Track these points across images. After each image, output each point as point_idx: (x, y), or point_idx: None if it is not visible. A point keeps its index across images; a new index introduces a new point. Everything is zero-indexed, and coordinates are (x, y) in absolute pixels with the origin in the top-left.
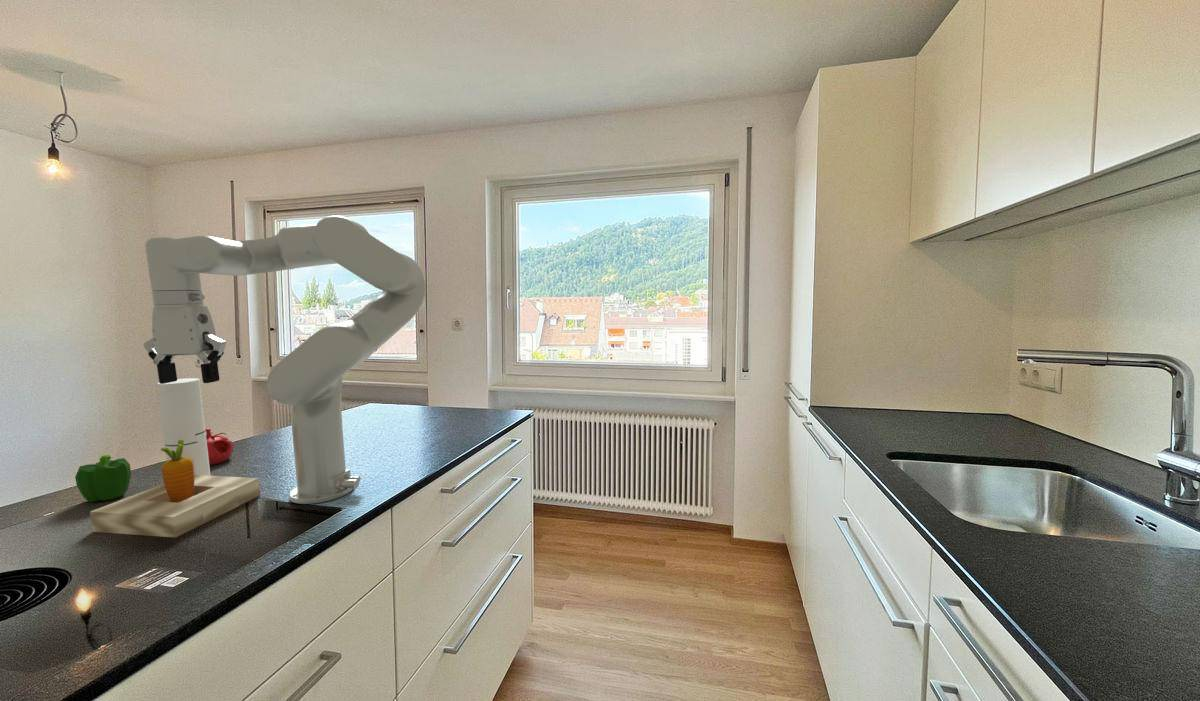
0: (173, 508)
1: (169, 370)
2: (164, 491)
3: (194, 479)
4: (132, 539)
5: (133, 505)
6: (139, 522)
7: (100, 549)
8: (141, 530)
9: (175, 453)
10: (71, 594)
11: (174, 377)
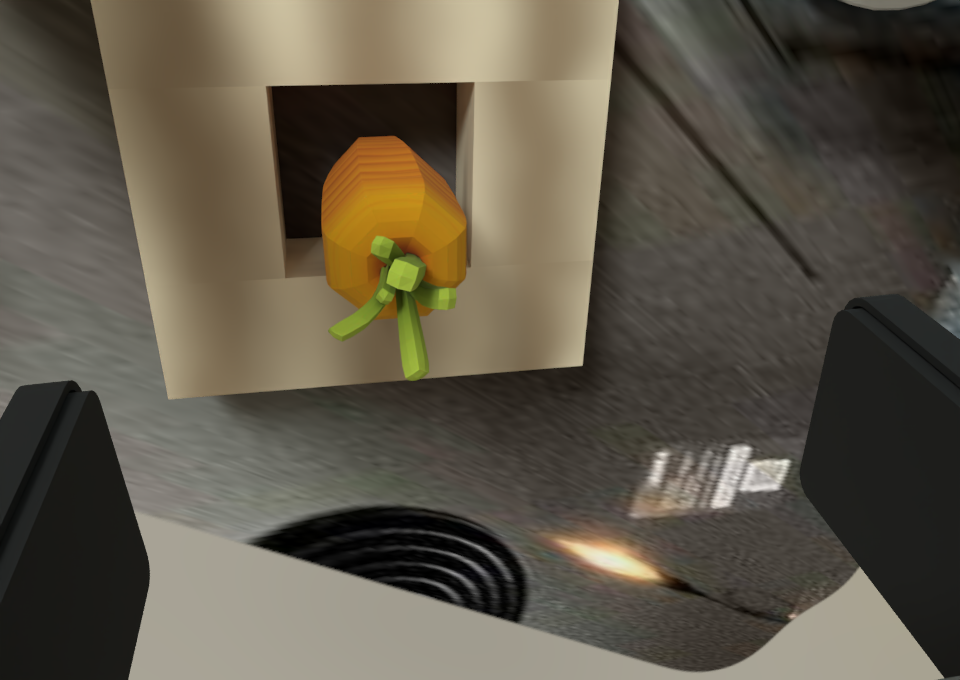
0: (509, 313)
1: (70, 634)
2: (252, 176)
3: (410, 149)
4: None
5: (290, 323)
6: None
7: (375, 422)
8: None
9: (420, 301)
10: (559, 557)
11: (89, 459)
